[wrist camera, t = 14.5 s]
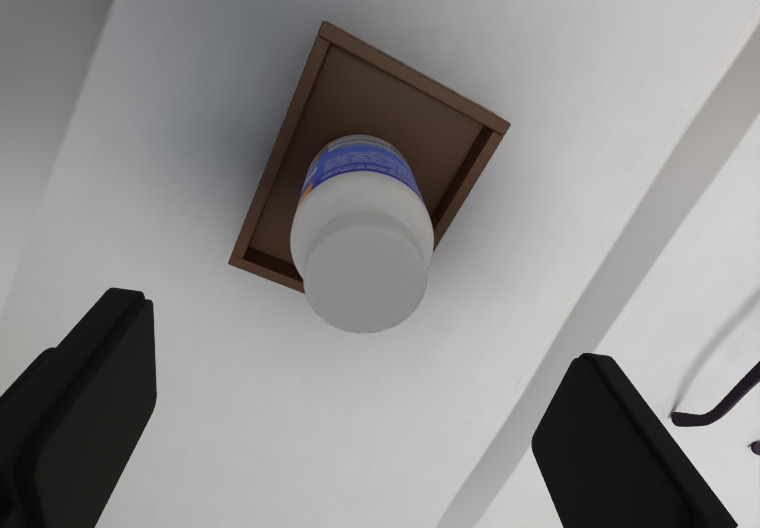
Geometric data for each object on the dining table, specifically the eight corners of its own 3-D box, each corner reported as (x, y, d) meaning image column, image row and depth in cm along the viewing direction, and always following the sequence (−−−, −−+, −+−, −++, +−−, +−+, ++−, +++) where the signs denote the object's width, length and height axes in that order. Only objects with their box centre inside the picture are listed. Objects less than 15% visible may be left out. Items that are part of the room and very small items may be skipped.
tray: (325, 20, 20) (322, 20, 18) (499, 116, 22) (511, 124, 20) (236, 247, 25) (227, 264, 23) (386, 306, 27) (388, 326, 25)
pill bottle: (297, 138, 22) (259, 212, 13) (410, 126, 22) (446, 193, 13) (315, 240, 24) (293, 359, 16) (415, 230, 24) (449, 343, 16)
